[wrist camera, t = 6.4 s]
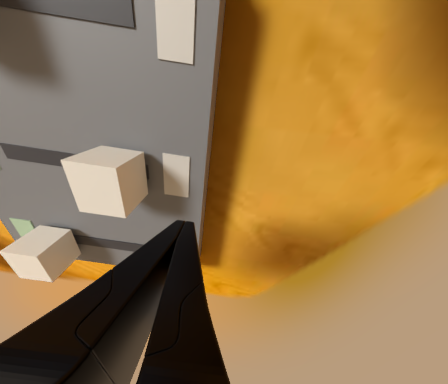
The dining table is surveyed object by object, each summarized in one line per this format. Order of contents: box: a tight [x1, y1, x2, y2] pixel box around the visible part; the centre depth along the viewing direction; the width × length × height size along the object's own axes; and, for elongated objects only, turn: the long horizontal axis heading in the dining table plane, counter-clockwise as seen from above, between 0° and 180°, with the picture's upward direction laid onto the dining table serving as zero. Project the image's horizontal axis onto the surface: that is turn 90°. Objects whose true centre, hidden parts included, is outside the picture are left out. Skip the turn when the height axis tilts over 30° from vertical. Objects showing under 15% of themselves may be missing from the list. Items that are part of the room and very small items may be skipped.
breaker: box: [0, 225, 81, 282], centre depth 16 cm, size 3×4×3 cm
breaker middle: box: [61, 146, 148, 218], centre depth 11 cm, size 3×4×3 cm
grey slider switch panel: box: [0, 0, 226, 265], centre depth 14 cm, size 20×25×3 cm
